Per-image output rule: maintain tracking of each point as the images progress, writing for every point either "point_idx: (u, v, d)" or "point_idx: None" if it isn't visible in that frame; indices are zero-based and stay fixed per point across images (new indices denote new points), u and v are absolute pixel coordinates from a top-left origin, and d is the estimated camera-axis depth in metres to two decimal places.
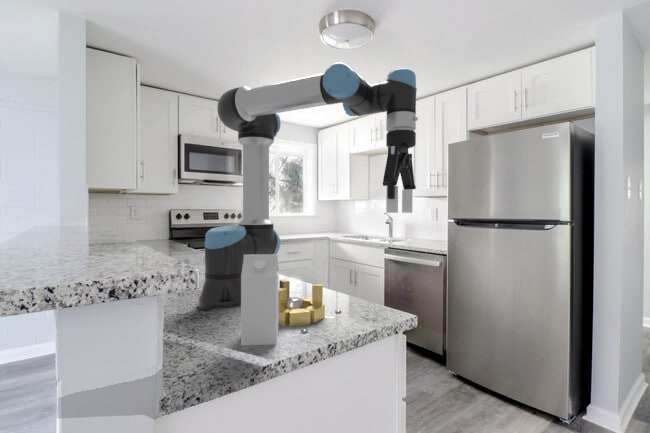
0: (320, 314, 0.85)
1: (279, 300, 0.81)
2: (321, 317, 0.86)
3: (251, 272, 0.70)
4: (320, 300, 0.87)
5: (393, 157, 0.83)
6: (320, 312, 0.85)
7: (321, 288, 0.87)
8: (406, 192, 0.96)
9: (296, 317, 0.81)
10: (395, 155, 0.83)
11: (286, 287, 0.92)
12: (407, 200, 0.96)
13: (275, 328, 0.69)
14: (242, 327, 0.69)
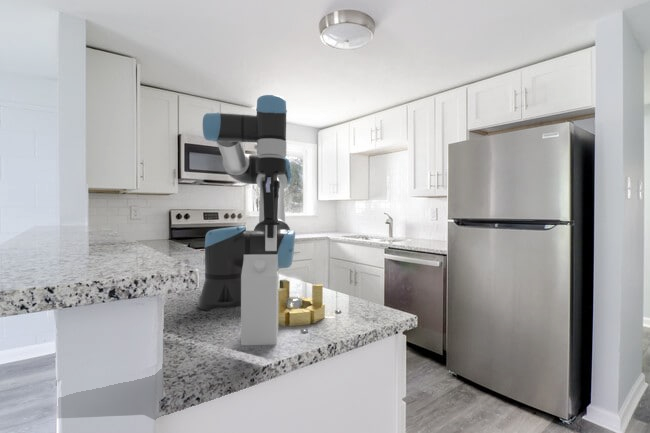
0: (320, 314, 0.85)
1: (279, 300, 0.81)
2: (321, 317, 0.86)
3: (251, 272, 0.70)
4: (320, 300, 0.87)
5: None
6: (320, 312, 0.85)
7: (321, 288, 0.87)
8: None
9: (296, 317, 0.81)
10: None
11: (286, 287, 0.92)
12: None
13: (275, 328, 0.69)
14: (242, 327, 0.69)
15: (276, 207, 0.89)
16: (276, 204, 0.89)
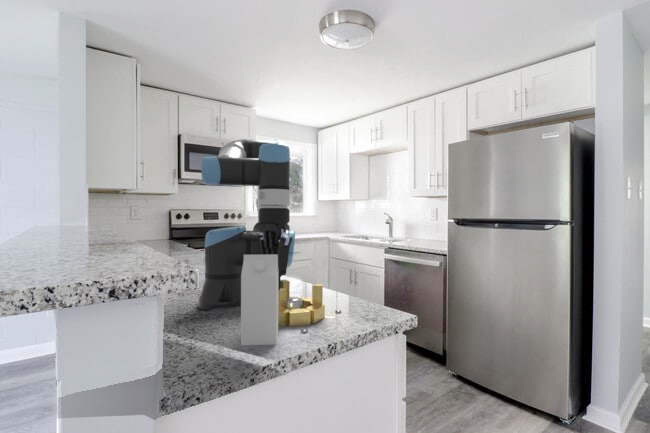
0: (320, 314, 0.85)
1: (279, 300, 0.81)
2: (321, 317, 0.86)
3: (251, 272, 0.70)
4: (320, 300, 0.87)
5: None
6: (320, 312, 0.85)
7: (321, 288, 0.87)
8: None
9: (296, 317, 0.81)
10: None
11: (286, 287, 0.92)
12: None
13: (275, 328, 0.69)
14: (242, 327, 0.69)
15: None
16: None
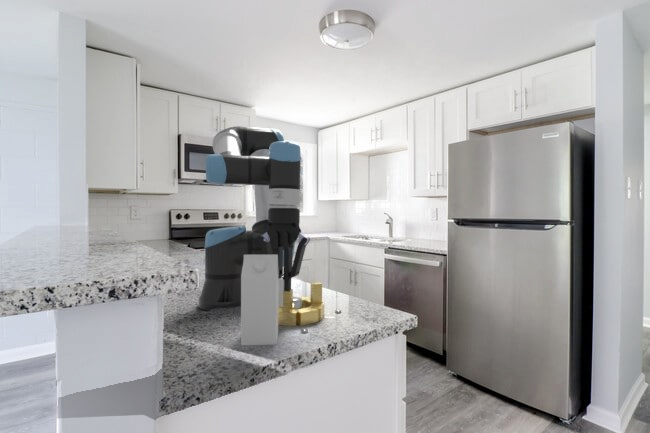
0: (323, 311, 0.87)
1: (288, 301, 0.81)
2: (323, 314, 0.88)
3: (251, 272, 0.70)
4: (320, 298, 0.90)
5: None
6: (323, 309, 0.87)
7: (321, 286, 0.90)
8: None
9: (306, 316, 0.82)
10: None
11: None
12: None
13: (275, 328, 0.69)
14: (242, 327, 0.69)
15: None
16: None
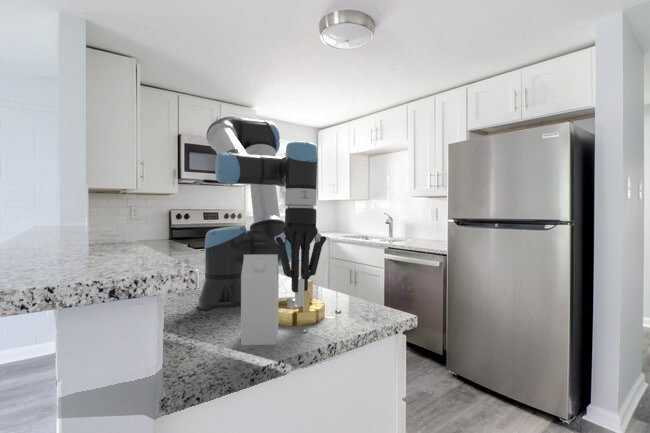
0: None
1: (308, 299, 0.82)
2: None
3: (251, 272, 0.70)
4: (311, 294, 0.93)
5: (280, 250, 0.80)
6: None
7: (312, 283, 0.94)
8: None
9: (320, 312, 0.85)
10: (280, 248, 0.79)
11: None
12: None
13: (275, 328, 0.69)
14: (242, 327, 0.69)
15: None
16: None
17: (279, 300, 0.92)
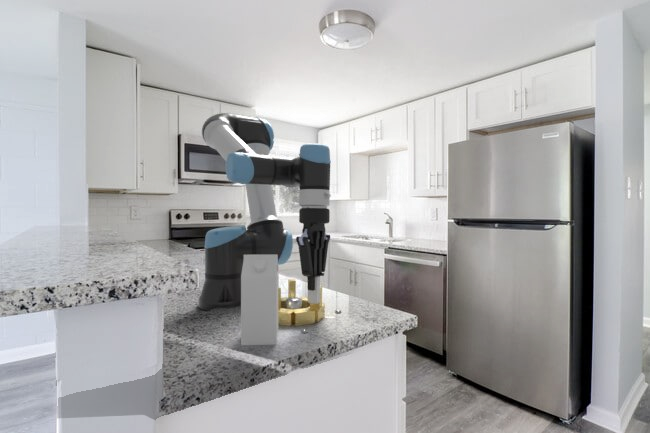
0: None
1: (321, 295, 0.86)
2: None
3: (251, 272, 0.70)
4: None
5: (304, 250, 0.80)
6: None
7: None
8: None
9: None
10: (305, 248, 0.80)
11: None
12: None
13: (275, 328, 0.69)
14: (242, 327, 0.69)
15: None
16: None
17: None
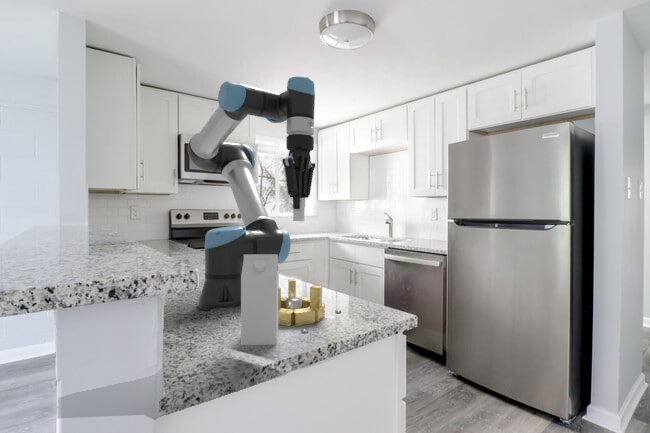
0: None
1: (321, 295, 0.86)
2: None
3: (251, 272, 0.70)
4: None
5: (289, 170, 0.90)
6: None
7: None
8: None
9: None
10: (290, 168, 0.90)
11: None
12: None
13: (275, 328, 0.69)
14: (242, 327, 0.69)
15: None
16: None
17: None
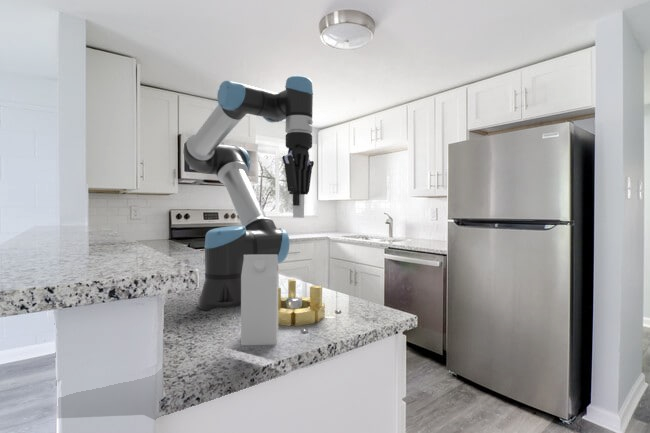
0: None
1: (321, 295, 0.86)
2: None
3: (251, 272, 0.70)
4: None
5: (289, 167, 0.92)
6: None
7: None
8: None
9: None
10: (290, 165, 0.92)
11: None
12: None
13: (275, 328, 0.69)
14: (242, 327, 0.69)
15: None
16: None
17: None
